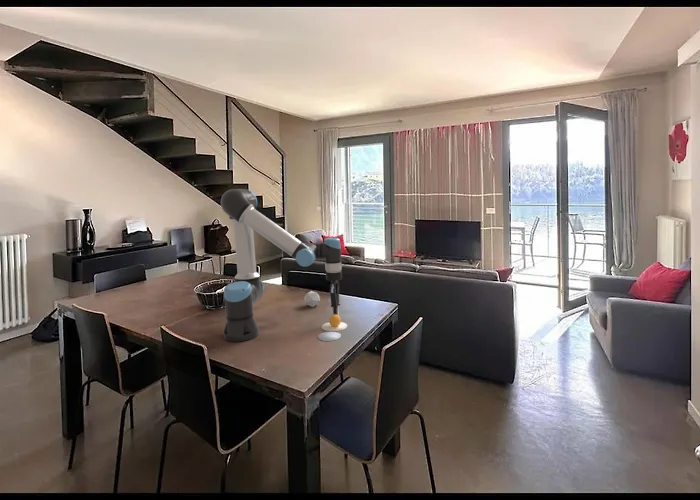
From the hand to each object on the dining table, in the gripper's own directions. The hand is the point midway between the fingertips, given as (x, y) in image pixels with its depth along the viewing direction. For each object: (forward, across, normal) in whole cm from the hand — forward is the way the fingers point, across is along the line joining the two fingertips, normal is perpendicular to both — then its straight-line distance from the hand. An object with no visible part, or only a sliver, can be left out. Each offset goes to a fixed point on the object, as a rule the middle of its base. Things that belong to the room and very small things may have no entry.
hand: (336, 319), depth 183 cm
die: (+3, +27, +18) cm, 33 cm away
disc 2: (+2, -16, 0) cm, 16 cm away
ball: (-1, -3, 0) cm, 3 cm away
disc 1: (+2, -4, 0) cm, 4 cm away
